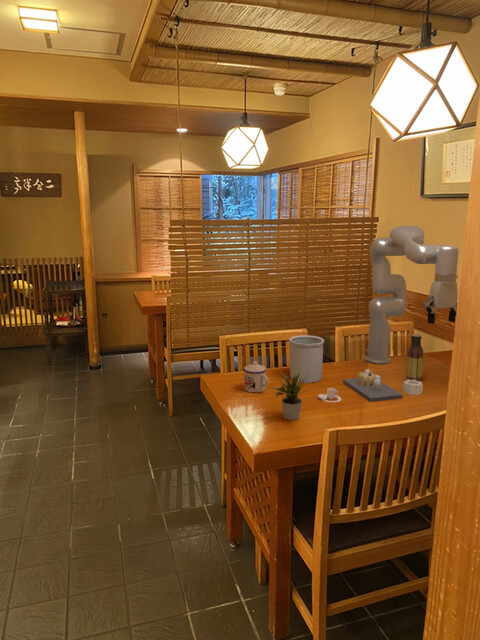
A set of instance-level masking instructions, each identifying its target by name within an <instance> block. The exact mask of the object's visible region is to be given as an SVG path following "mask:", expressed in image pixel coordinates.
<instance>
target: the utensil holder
mask: <svg viewBox="0 0 480 640" xmlns="http://www.w3.org/2000/svg"><path fill="white" fill-rule="evenodd" d="M324 344H325V339H324V338H323V337H320V336H315V335H309V334H306V335H304V334H303V335H295V336H291V337H290V338H289V368H290V369H289V373H290V375H289V376H290V377H289V378H290V379H291V380H292V379H293V377H294V375H295V377H296V376H297V374H298V372H300V371H301V372H300V376H299V378H298V382H297V383H299V380H300V378H301V377H302V379H301V382H302V380H303V379H304V381H303V382H304V384H305V383H306V384H310V383H311V384H312V382H313V383H317V382H320V381H321V380H322V377H323V376H322V375H323V360H324V359H323V357H324ZM302 375H303V376H302ZM301 382H300V383H301Z"/></svg>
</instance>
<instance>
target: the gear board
mask: <svg viewBox="0 0 480 640" xmlns="http://www.w3.org/2000/svg"><path fill="white" fill-rule="evenodd" d="M381 380H382V379H381V376H380V375H379V374H374V372H371V370H370V369H369V368H366V369H365V370H364V371H363V372H362V371H359V373H357V377H354V378H345V379H343V378H342V383H343V384H344V385H345V386H347V387H348V388H349V389H351V390H353V391H354V392H355V393H357V394H359V395H360V396H361V397H362V398H364V399H365V400H367V401H368V402H370V403H372V402H382V401H390V400H399V399H400V400H402V399H403V396H404V395H403V393H401V392H399V391H397V390H396V389H395V388H392V387H391V386H389V385H387V384H385V383H384V382H382V381H381Z"/></svg>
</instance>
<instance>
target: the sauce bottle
mask: <svg viewBox="0 0 480 640" xmlns="http://www.w3.org/2000/svg"><path fill="white" fill-rule="evenodd" d="M410 337H411V344H410V347H409V349H408V352H407V353H408V354H407V367H406V369H407V371H406V377H407V380H416V381H421V382H422V380H423V379H422V377H423V371H424V370H423V369H424V368H423V367H424V350H423V347H422V334H419V333H418V334H415V333H414V334H411V336H410Z"/></svg>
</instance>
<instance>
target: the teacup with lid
mask: <svg viewBox="0 0 480 640" xmlns="http://www.w3.org/2000/svg"><path fill="white" fill-rule="evenodd" d="M266 372H267V369H266V367H265V366H264V365H262V364H259V363H258V361H252V362H251V363H250V364H248V365H245V366H244V367H243V373H244V375H243V376H244V377H243V378H244V380H243V382H244V383H243V384H244V385H243V388H244V391H246V392H249V393H252V392H258V393H261V392H264V391H265V390H266V387H268V385H269V382H270V381H269V378H268V376H267V375H266Z"/></svg>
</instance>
